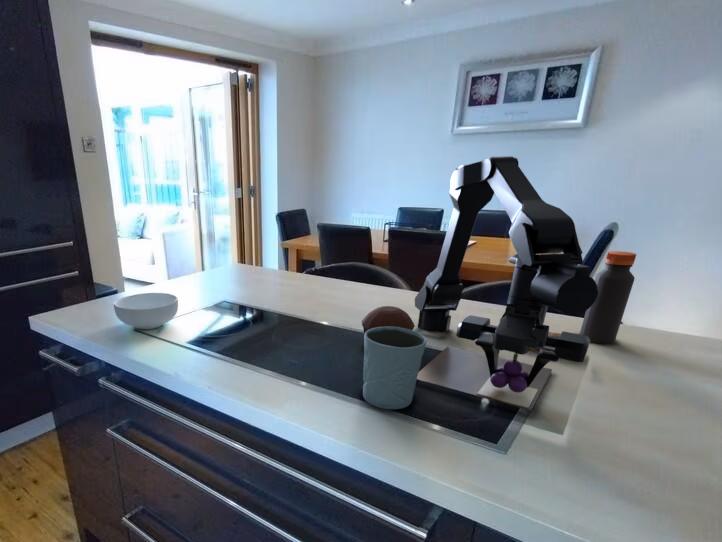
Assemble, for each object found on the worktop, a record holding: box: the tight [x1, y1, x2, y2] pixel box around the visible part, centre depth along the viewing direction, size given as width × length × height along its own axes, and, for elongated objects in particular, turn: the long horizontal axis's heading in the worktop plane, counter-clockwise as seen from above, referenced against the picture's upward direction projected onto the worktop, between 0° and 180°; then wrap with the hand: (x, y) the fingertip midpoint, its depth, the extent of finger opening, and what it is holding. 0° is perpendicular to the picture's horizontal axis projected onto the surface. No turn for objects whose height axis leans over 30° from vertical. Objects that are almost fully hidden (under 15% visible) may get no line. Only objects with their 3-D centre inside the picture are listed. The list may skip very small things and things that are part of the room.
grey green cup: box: [362, 327, 427, 410], centre depth 77 cm, size 10×10×12 cm
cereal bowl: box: [113, 292, 179, 330], centre depth 119 cm, size 17×17×7 cm
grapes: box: [490, 352, 529, 393], centre depth 76 cm, size 6×6×6 cm
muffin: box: [361, 305, 416, 335], centre depth 98 cm, size 12×11×10 cm
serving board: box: [417, 346, 553, 411], centre depth 85 cm, size 20×20×1 cm
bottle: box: [579, 250, 637, 345], centre depth 99 cm, size 7×7×20 cm
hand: (509, 382), depth 77 cm, fingers closed on grapes, 5 cm apart
